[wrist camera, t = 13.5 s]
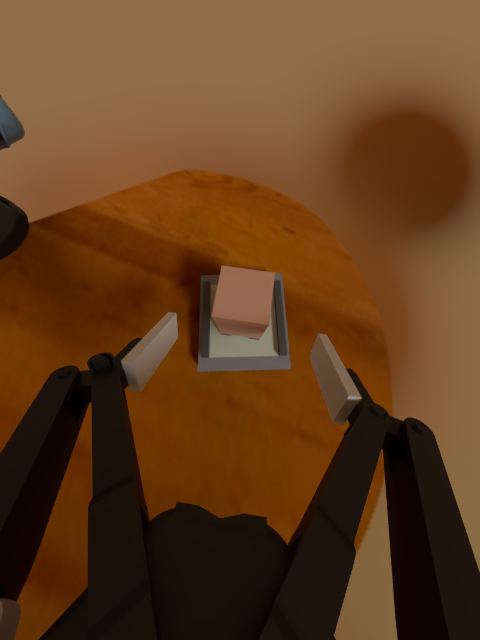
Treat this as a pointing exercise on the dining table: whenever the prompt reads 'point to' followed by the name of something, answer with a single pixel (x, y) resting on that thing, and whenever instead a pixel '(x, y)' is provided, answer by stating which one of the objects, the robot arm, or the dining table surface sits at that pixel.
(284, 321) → the step
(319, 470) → the dining table surface
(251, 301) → the block
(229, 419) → the dining table surface
